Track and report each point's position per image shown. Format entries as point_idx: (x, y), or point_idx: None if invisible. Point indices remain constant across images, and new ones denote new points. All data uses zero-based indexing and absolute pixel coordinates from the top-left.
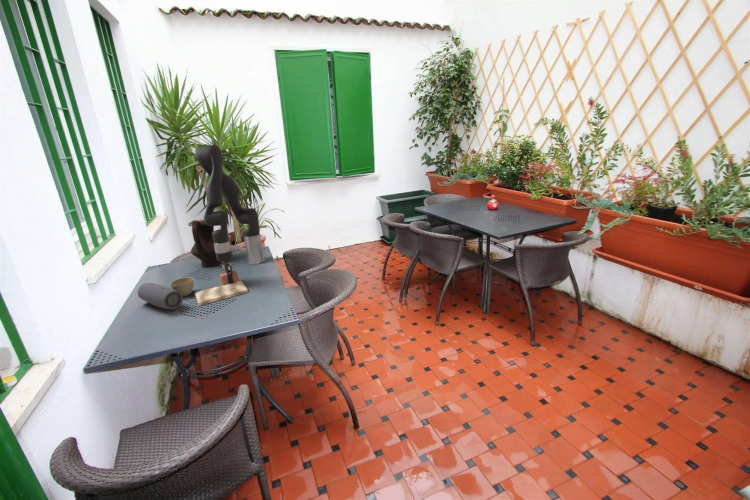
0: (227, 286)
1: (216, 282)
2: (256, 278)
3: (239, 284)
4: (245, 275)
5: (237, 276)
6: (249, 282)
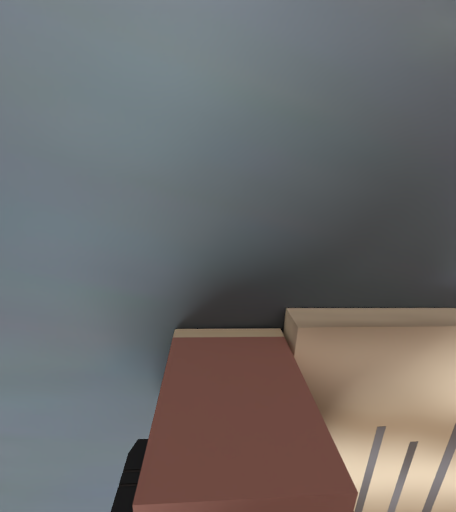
0: (350, 466)
1: (65, 495)
2: (279, 93)
3: (409, 366)
4: (23, 198)
5: (316, 416)
6: (343, 226)
